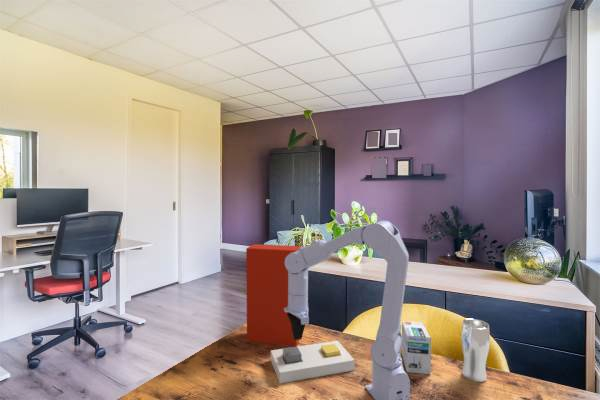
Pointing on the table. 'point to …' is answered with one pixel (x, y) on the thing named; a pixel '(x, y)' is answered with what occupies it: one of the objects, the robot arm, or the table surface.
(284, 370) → the board
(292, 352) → the graphite key
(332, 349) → the mustard key
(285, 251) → the file binder
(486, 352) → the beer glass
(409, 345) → the light bulb box
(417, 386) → the table surface
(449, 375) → the table surface
